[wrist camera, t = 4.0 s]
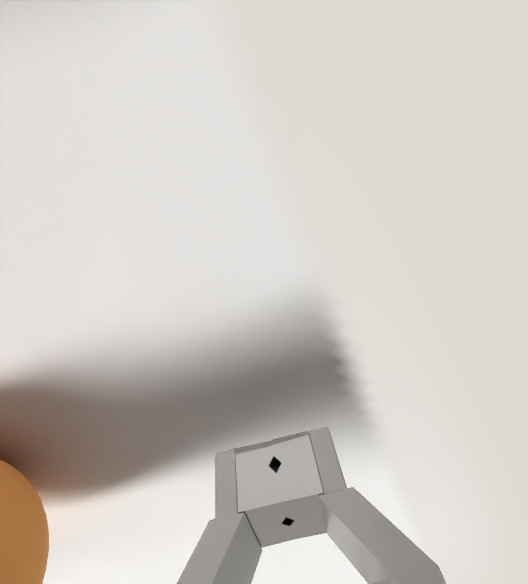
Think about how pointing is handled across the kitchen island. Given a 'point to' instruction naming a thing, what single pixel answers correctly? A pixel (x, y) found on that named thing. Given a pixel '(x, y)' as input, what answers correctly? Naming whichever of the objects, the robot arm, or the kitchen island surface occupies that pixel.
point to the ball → (21, 530)
